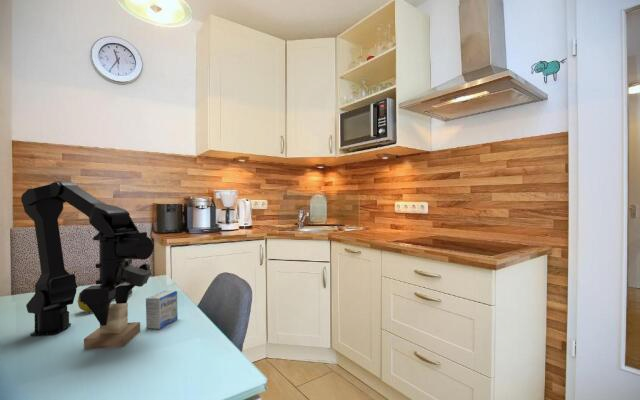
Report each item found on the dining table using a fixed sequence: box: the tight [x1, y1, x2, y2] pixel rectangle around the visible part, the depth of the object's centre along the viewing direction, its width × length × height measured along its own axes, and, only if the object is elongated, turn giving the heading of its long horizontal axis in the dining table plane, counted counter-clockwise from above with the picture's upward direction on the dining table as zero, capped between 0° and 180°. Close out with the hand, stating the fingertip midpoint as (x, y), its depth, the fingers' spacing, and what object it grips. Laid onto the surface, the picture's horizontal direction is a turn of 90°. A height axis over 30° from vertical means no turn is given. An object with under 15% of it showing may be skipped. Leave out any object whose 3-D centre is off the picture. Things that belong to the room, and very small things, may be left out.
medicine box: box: [145, 289, 178, 330], centre depth 91 cm, size 8×4×9 cm, turn 168°
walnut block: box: [83, 321, 141, 350], centre depth 80 cm, size 9×9×3 cm
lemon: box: [77, 296, 92, 313], centre depth 100 cm, size 6×6×8 cm
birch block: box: [99, 302, 129, 334], centre depth 80 cm, size 4×4×6 cm
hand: (113, 318), depth 80 cm, fingers open, 9 cm apart
